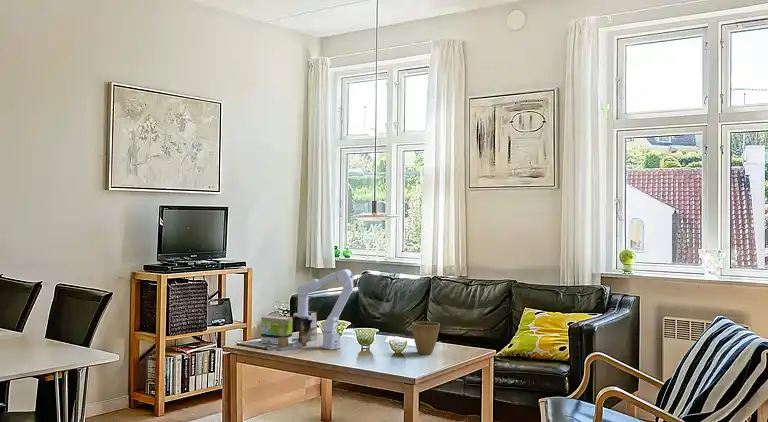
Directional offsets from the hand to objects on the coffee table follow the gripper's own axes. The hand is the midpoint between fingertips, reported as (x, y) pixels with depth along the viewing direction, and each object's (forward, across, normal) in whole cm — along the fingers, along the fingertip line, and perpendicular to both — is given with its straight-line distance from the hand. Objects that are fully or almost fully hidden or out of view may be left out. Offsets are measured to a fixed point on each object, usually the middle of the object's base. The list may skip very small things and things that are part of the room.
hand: (302, 331), depth 387 cm
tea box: (+8, -16, -6) cm, 19 cm away
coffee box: (+8, -15, +15) cm, 23 cm away
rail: (+8, +3, -11) cm, 14 cm away
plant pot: (+8, +56, +40) cm, 69 cm away
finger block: (+8, 0, 0) cm, 8 cm away
